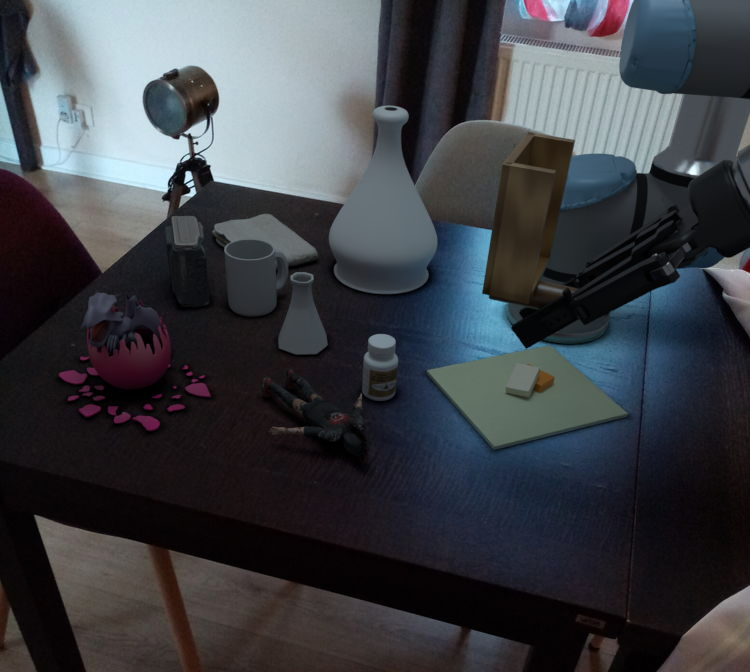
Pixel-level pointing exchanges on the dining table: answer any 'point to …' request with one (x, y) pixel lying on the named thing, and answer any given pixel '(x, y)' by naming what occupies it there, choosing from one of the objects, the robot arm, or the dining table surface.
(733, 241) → the robot arm
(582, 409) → the placemat
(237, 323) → the dining table surface
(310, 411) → the figurine
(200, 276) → the camera
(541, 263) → the open wooden box
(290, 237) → the washcloth
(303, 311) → the flask
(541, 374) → the block
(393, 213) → the vase
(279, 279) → the cup
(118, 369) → the hatching egg
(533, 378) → the block
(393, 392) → the pill bottle
